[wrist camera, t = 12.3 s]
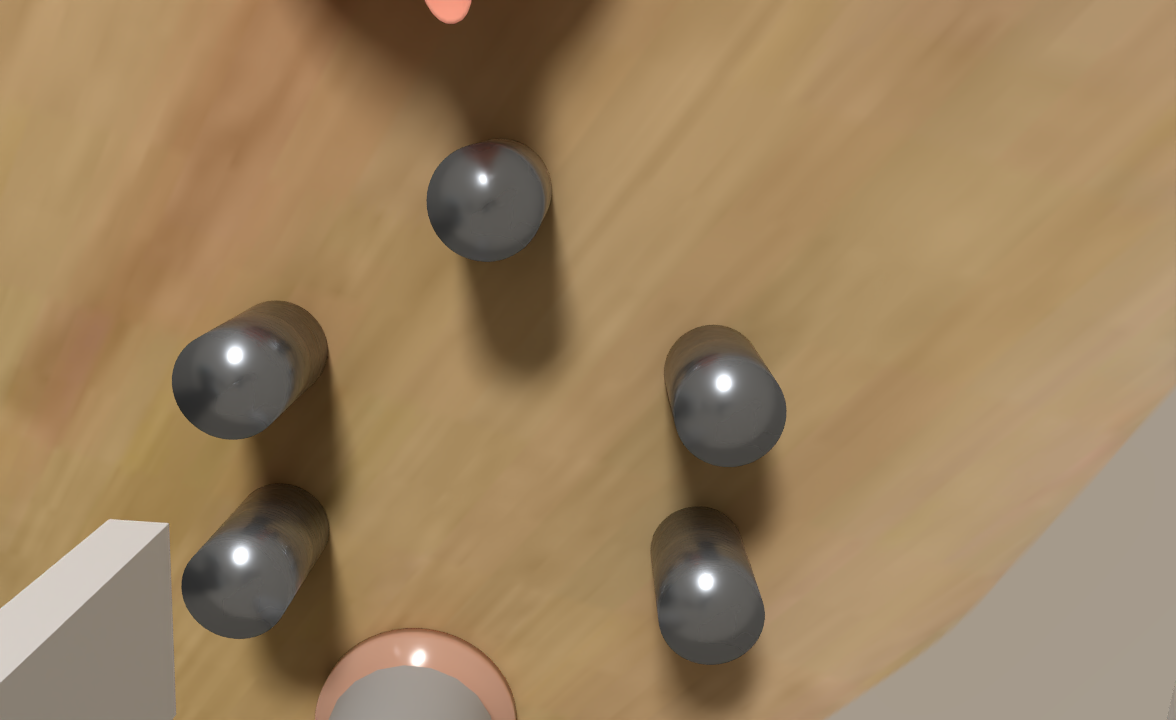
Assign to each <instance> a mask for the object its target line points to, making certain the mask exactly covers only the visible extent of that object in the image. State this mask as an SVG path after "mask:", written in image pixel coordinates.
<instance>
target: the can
mask: <svg viewBox="0 0 1176 720" xmlns="http://www.w3.org/2000/svg"><path fill="white" fill-rule="evenodd" d="M329 720H492V719H491V716H490V714H489V713H488V711H487V710H486V708H485V707H484V705H483V704H482V702H481V700H480V699H479V697H478V696H477V695H476V694H475V693H474V692H473V691H471V690H470V689H469V688H468V687H466V686H465V685H464V684H463V683H461V682H460V681H459V680H458V679H456V678H454V677H452V676H449V675H447V674H444V673H442V672H439V671H437V670H435V669H432V668H425V667H416V666H407V665H403V666H397V667H391V668H386V669H380V670H377V671H375V672H373V673H371V674H369V675H367V676H365V677H363V678H361V679H359V680H357V681H355V682H354V683H353V684H352V685H351V686H350V687H349V688H348V689H347V690H346V691H345V692H344V693H343V694H342V695H341V696H340V697H339V698H338V700H337V702H336V704H335V706H334V709H333V711H332V713H331V715H330V718H329Z"/></svg>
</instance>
